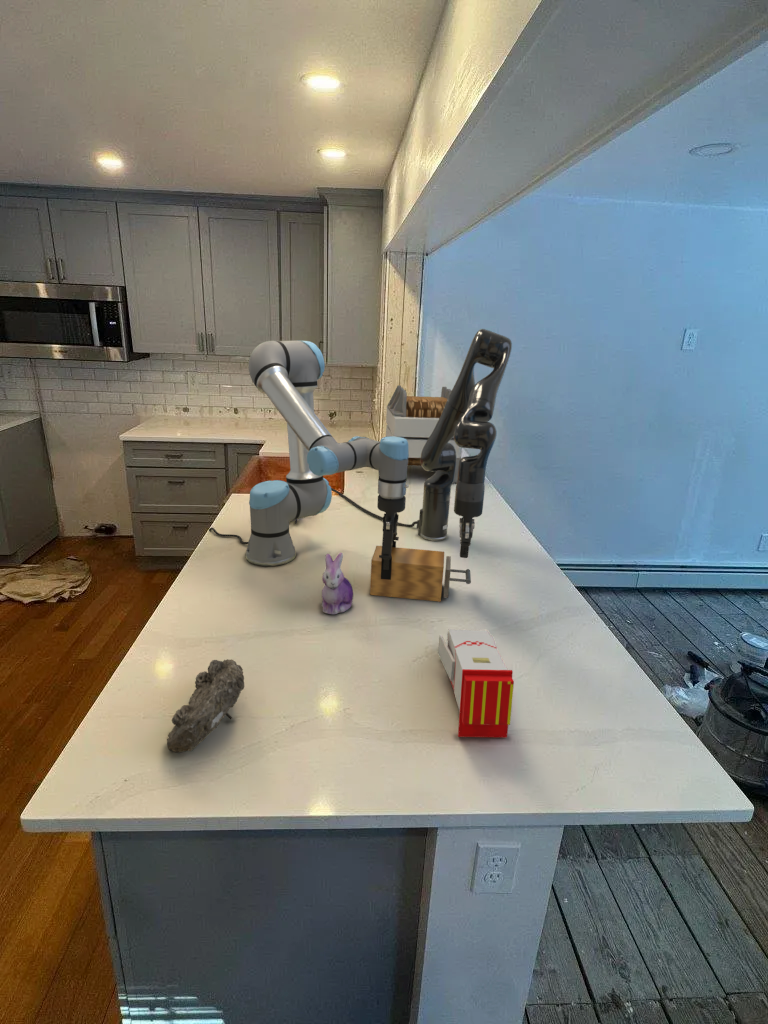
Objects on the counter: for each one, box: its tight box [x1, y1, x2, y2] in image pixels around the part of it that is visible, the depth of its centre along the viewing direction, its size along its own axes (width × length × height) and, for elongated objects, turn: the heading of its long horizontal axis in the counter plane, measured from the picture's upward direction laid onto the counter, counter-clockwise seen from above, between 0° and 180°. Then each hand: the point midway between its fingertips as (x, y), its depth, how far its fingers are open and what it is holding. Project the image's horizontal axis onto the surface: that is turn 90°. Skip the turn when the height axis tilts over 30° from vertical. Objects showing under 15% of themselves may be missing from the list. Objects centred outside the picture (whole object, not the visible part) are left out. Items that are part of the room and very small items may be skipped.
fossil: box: [166, 658, 245, 754], centre depth 106 cm, size 22×10×15 cm
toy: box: [437, 628, 515, 738], centre depth 117 cm, size 12×13×30 cm
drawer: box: [443, 555, 472, 599], centre depth 158 cm, size 24×9×8 cm, turn 83°
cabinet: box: [369, 545, 445, 603], centre depth 159 cm, size 20×10×10 cm, turn 83°
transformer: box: [385, 384, 463, 484], centre depth 268 cm, size 34×33×41 cm
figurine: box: [321, 552, 354, 615], centre depth 147 cm, size 9×10×15 cm
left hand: (388, 570), depth 159 cm, fingers closed on cabinet, 10 cm apart
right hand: (463, 556), depth 155 cm, fingers closed
